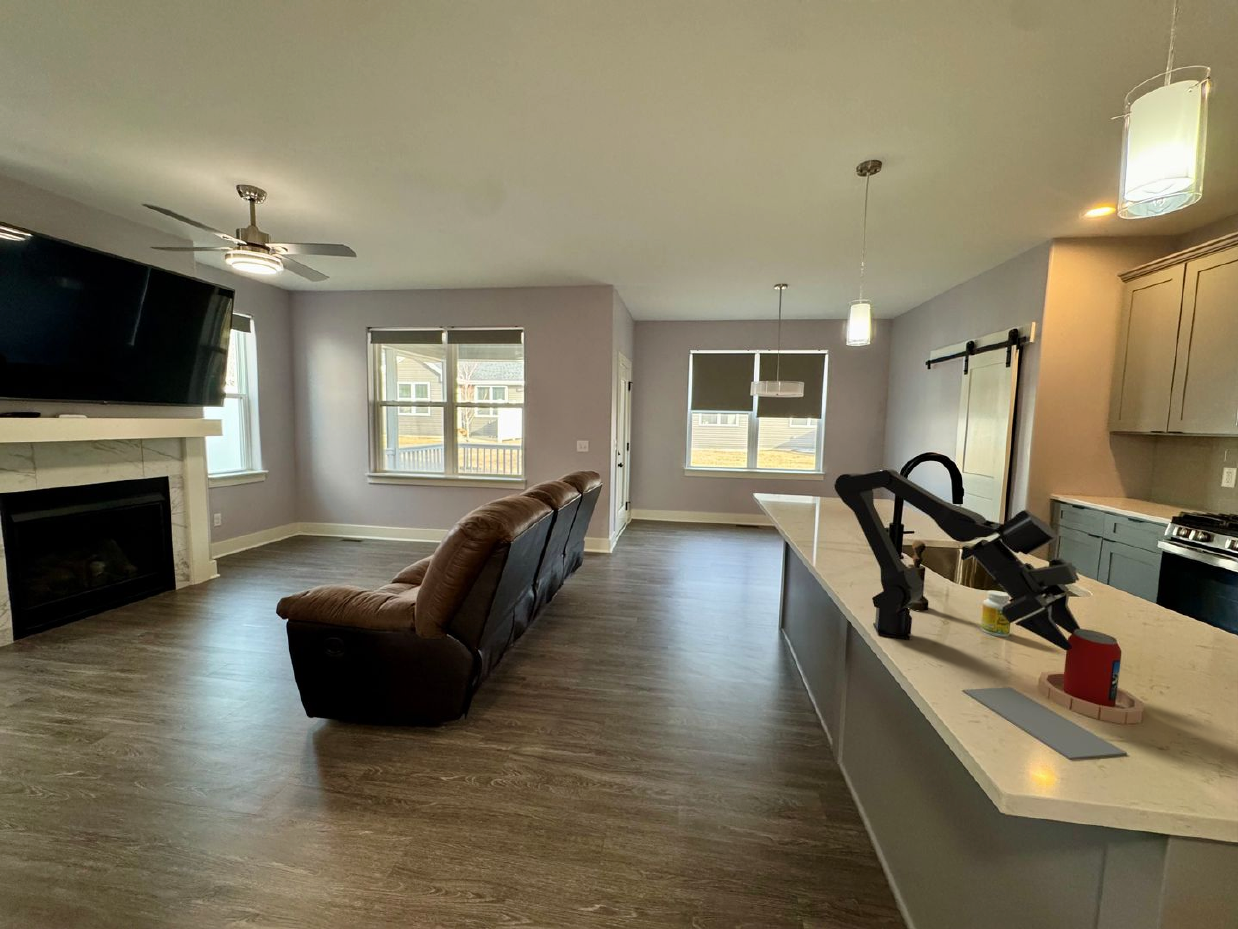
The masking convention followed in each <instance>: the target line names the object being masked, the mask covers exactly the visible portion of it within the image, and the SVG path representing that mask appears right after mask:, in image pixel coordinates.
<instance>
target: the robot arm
mask: <svg viewBox="0 0 1238 929" xmlns="http://www.w3.org/2000/svg"><path fill="white" fill-rule="evenodd" d="M833 487H834V490H835V492H836V494H837V495H838V497H839V498H840V500H841V501H842V503H843V504H845V505H846V506H847V507H848V508H849V509H850V510H851V511H852V512H853V514H854V515H855V518H856V520H857V522H858V525H860V529H861V531H862V532H863V535H864V536H865V538H866V541H867V542H868V546H869V547H870V549H871V551H872V552H873V555H874V558H875V559H876V561H877V565H878V566H879V568H880V585H881V587H882V591H881V592H880V593H878V594H876V595H874V596H873V597H872V598H871V600H872V604H873V607H874V608H875V609H876V611H875V621H874V622H873V624H872V625H873V628H874V630H875V631H876V633H877V635H878V636H881V637H888V638H894V639H895V638H896V639H902V640H908V641H909V640H911V636H910V635H911V634H912V624H913V623H912V622H913V617H912V616H911V615H910V614H911V609H908V608H907V607H909V606H912V605H913V603H914V601H917V600H919V599H920V598H921V597H922V594H923V595H924V593H923V592H924V591H925V590H923V586H922V584H924V585H925V581H924V582H923V581H922V580H921V579H920V577H919V575H918V572H917V569H916V568H915V567H911V568H908V565H906V564H905V563H904V562H903V561H902V560H901V557H900V555H899V552H898V551H897V549H896V547H895V546H894V543H893V540H892V539H891V538H890V536H889V532H888V531H887V530H886V527H885V525H884V523H883V521H882V519H881V517H880V515H879V513H878V511H877V509H876V507H875V505H874V500H875V499H874V491H873V490H876V489H881V488H884V489H886V490H887V491H889V492H890V493H893V494H894V495H895V496H897V497H898V498H900V499H902V501H903V500H904V501H905V502H906V503H908V504H910V505H911V506H913V507H915V508H916V509H918V510H919V511H921V512H922V513H924V514H926V515H927V516H928V517H930V518H931V519H932V520H933V521H934V522H935V524H937V526H938V527H939V528H940V529H941V531H943V532H944V533H945V534H946V535H948V536H949V537H950V538H951V539H952V540H953V541H956V542H960V543H967V542H972V541H975V540H979V539H981V538H984V539H981V540H979V541H978V542H976V543H974V544H973V545H972V546H969V545H964V546H961V550H962V552H961V556H960V560H962V561H966V560H968V559H971V558H972V557H973V558H974V559H975V560H976V561H977V562H978V563H979V564H980V565H981V566H982V567H983V569H985V571H986V572H987V573H988V574H989V575H990V576H991V577H992V578H993V580H991V583H992V584H993V585H994V586H995V587H996V586H998V585H999V586H1000V587H1001V588H1002V590H1004V592H1005V593H1006V594H1008V595H1009V601H1008V603H1009V604H1007V605H1005V606H1004V607H1003V609H1002V614H1003V616H1004V617H1005V618H1006V619H1007V620H1008V621H1009V622H1010V624H1012V623H1014V624H1015V625H1016V626H1019V627H1021V628H1023V629H1026V630H1027V631H1029V632H1031V633H1033V634H1035V635H1037V636H1038V637H1040V638H1042V639H1044V640H1046V641H1048V642H1049V643H1051V644H1053V645H1054V646H1056V647H1059V648H1060V649H1062V650H1064V651H1067V650H1069V649H1071V648H1072V646H1071V645H1070V643H1069V642H1068V638H1067V637H1066V636H1065V635H1064V633H1063V632H1062V630H1061V629H1063V630H1064V631H1066V632H1068V633H1069V634H1070V635H1071V634H1072V633H1074V630H1076V629H1082V628H1081V627H1080V625H1079V623H1078V621H1077V620H1076V618H1075V616H1074V614H1073V613H1072V611H1071V610H1070V608H1069V605H1068V603H1069V599H1070V598H1069V597H1070V593H1069V592H1068V591H1069V590H1070V589H1069V588H1068V587H1067V586H1066V585H1072V584H1075V583H1076V582H1078V581H1080V578H1079V576H1078V574H1077V572H1076V570H1077V567H1076V566H1074V565H1073V563H1072V562H1067V561H1066V560H1064V559H1063V558H1061V557H1059V558H1053V559H1050V560H1049V562H1048V565H1045V566H1041V567H1037V568H1036V567H1034V565H1033V564H1031V563H1028V562H1026V563H1024V562H1023V561H1021V559H1020V558H1019V557H1018V556H1017V555H1016V554H1020V553H1021V554H1024V555H1026V556H1028V555H1030V554H1032V553H1033V552H1034V551H1037V550H1039V549H1040V548H1043V547H1044V546H1046V545H1048V544H1049V543H1051V542H1053V541H1055V540H1057V539H1058V535H1057V533H1056V532H1055V531H1054V529H1053V527H1051V526H1050V525H1049V524H1048V523H1047V522H1046V521H1043V520H1042V519H1040V518H1039V517H1038V516H1036V515H1035V514H1032V513H1031V512H1030V511H1029V510H1028V509H1023V510H1020V511H1019V512H1018V513H1016V514H1015V515H1014V516H1013V517H1012V518H1010V519H1009V520H1007V521H1005V522H1004V523H999V522H995V521H991V520H988V519H986V518H985V516H983V515H982V514H980V513H978V512H976V511H973V510H971V509H968V508H965V507H963V506H961V505H956V504H954V503H950V502H947V501H945V500H943V499H942V498H940V497H939V496H937V495H935V494H934V493H932V492H930V491H928V490H927V489H925V488H923V487H921V486H920V485H918V484H917V483H915V482H913V481H911V480H910V479H908V478H906V477H904V476H903V475H901V474H900V473H899V472H898V471H896V470H895V469H881V470H878V471H873V472H869V473H843V474H840V475H839V476H838V477H837V478H836V480H835V482H834V486H833ZM994 535H998V536H997V537H995V538H994V539H992V540H990V541H989V540H987V539H985V538H988V537H991V536H994ZM1066 592H1068V593H1066ZM1065 593H1066V594H1065ZM1061 594H1064V595H1061ZM1059 627H1060V628H1061V629H1060V628H1059Z"/></svg>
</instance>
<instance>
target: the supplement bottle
mask: <svg viewBox="0 0 1238 929" xmlns="http://www.w3.org/2000/svg"><path fill="white" fill-rule="evenodd" d="M1009 600H1010V596H1009V595H1008V594H1007V593H1006V592H1005V591H1004V592H1003V591H999V590H987V598H986V599H984V600H983V602H982V614H981V625H980V627H981V630H982V632H983V633H985V634H989V635H991V636H995V637H1000V638H1002V637H1003V638H1007V637H1009V635H1010V632H1011V623H1010V622H1009V621H1008V620H1007V619H1006V618H1005V617H1004V616H1003V614H1002V609H1003V607H1004V606H1005V605H1007V604H1009V603H1010V601H1009Z"/></svg>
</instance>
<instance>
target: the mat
mask: <svg viewBox="0 0 1238 929" xmlns="http://www.w3.org/2000/svg"><path fill="white" fill-rule="evenodd" d="M961 691H962V693H963V694H966V695H968V697H971V698H972V699H973V700H975V701H977V702H978V703H980V704H982V705H983V706H985V707H986V708H987V709H989V710H991V711H992V712H994V713H995V714H997V715H999V716H1001V717H1002V718H1003V719H1005V720H1006V721H1008V722H1010V723H1011V724H1013V725H1015V726H1017V727H1018V728H1019V729H1021V730H1022V731H1024V732H1025V733H1026V734H1027V733H1028V734H1029V735H1030V736H1031V737H1032V738H1033V737H1034V738H1035V739H1036V740H1039V742H1041V743H1042V744H1044V745H1045V746H1047V747H1049V748H1051V749H1052V750H1053V751H1055V752H1057V753H1058V754H1060V755H1062V756H1063V757H1065V758H1066V759H1067V760H1078V759H1092V758H1093V759H1095V758H1103V757H1114V756H1115V757H1116V756H1126V755H1127V754H1128V753H1127V752H1126V751H1125V750H1123V749H1121V748H1120V747H1118V746H1116V745H1114V744H1113V743H1111V742H1109V741H1107V740H1105V739H1103V738H1102V737H1100V736H1098V735H1097V734H1095V733H1093V732H1091V731H1090V730H1087V729H1086V728H1084V727H1083V726H1080V725H1078V724H1077V723H1075V722H1073V721H1071V720H1070V719H1067V717H1064V716H1063V715H1060V714H1058V713H1057V712H1056V711H1054V710H1052V709H1050V708H1048V707H1046V706H1045V705H1043V704H1042V703H1039V702H1038V701H1036V700H1034V699H1032V698H1031V697H1029V696H1027V695H1026V694H1024V693H1022V692H1020V691H1018V690H1017V689H1014V688H1013V687H1011V686H1008V687H1007V686H1005V687H1002V686H1001V687H987V688H984V687H983V688H971V689H970V688H969V689H962V690H961Z"/></svg>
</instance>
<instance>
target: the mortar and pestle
mask: <svg viewBox="0 0 1238 929" xmlns="http://www.w3.org/2000/svg"><path fill="white" fill-rule="evenodd" d="M911 548H912V549H913V552H914V555H913V556H912V562H913V564H910V563H909V564H908V565H907V567H908V568H911V567H915V568H916V569H917V572H918V575H919V577H920V579H921V580H922V581H923V582H924V584H922V586H923V590H924V589H925V578H926V577H925V575H926V566H923V565H921V564H922V562H923V556H922V553H923V552H924V551H925V549H926V544H925V542H924V541H922V540H915V541H913V542H912V545H911ZM924 591H925V590H924ZM907 608H909V610H911V609H914V610H913V611H916V610H920V611H919V612H924V610H926V611H928V610H929V600H928V598H927V597H925V596H924V592H923V594H922V597H921V598H920V599H919V600H917V601H914V603H913V605H912V606H909V607H907Z"/></svg>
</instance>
